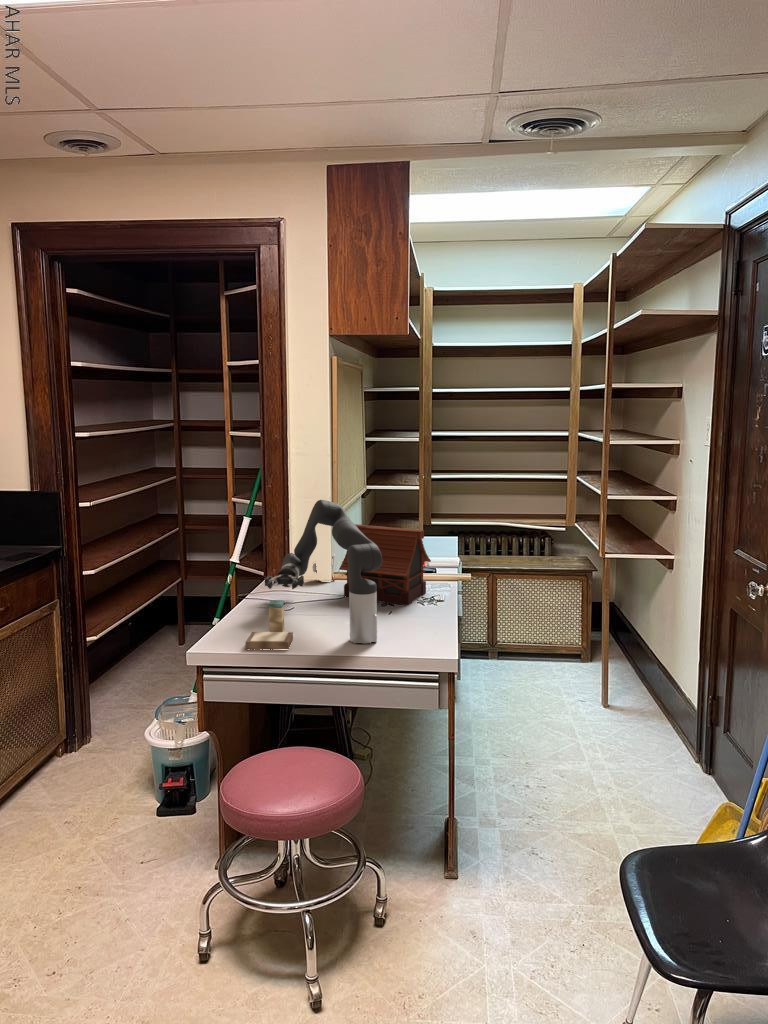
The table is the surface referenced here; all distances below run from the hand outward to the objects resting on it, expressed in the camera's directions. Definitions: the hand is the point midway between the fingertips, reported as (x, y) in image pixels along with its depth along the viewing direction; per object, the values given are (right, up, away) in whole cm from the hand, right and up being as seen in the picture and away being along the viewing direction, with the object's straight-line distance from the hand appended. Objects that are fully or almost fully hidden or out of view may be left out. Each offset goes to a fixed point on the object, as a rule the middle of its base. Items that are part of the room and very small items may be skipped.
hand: (281, 586), depth 265 cm
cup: (+11, -4, +62) cm, 63 cm away
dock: (-1, -17, -22) cm, 28 cm away
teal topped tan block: (0, -15, -9) cm, 18 cm away
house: (+37, -8, +38) cm, 54 cm away
